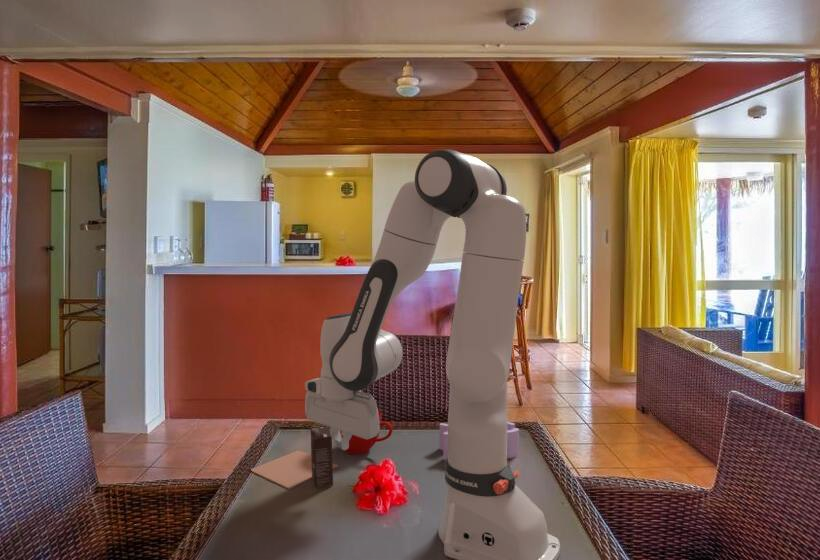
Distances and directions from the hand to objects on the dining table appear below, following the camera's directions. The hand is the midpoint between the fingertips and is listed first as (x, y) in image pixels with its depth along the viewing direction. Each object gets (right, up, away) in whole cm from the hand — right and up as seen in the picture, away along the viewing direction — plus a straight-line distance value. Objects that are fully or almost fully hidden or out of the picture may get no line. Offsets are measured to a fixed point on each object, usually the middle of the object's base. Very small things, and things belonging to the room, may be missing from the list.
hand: (341, 448), depth 117 cm
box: (-5, -9, +5) cm, 12 cm away
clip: (+33, -9, +22) cm, 41 cm away
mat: (-13, -9, +12) cm, 20 cm away
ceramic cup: (+3, -8, +23) cm, 24 cm away
